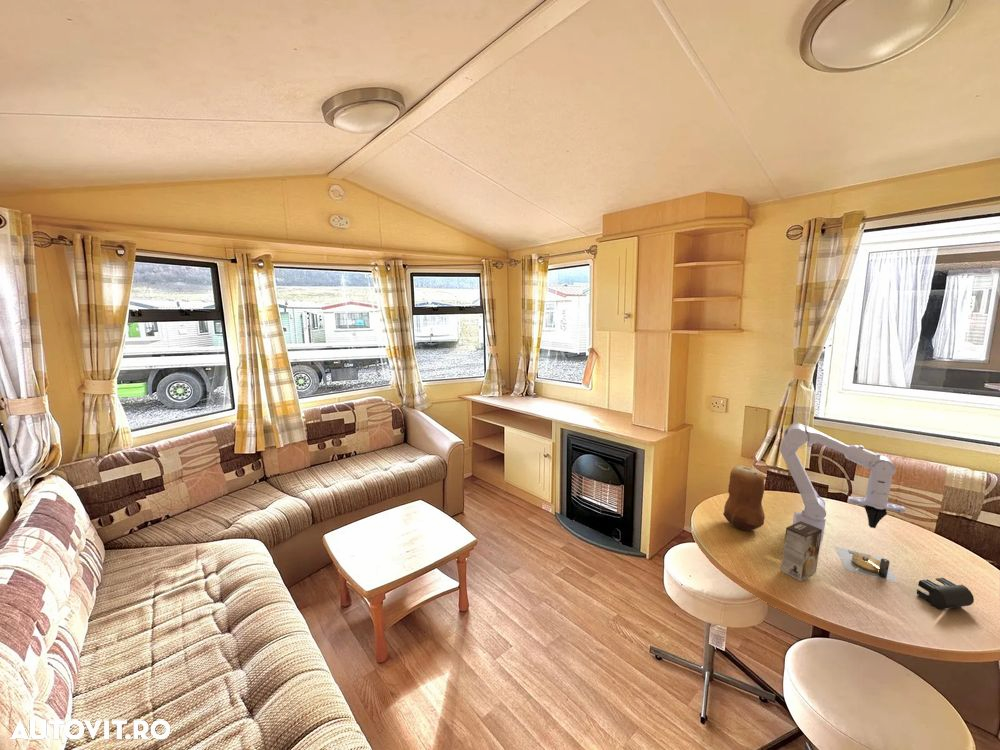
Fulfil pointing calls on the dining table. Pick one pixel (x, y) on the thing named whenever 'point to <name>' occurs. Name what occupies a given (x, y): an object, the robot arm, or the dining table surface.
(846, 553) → the board
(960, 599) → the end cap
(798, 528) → the coffee box
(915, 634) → the dining table surface
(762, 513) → the butternut squash
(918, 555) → the dining table surface
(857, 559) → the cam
